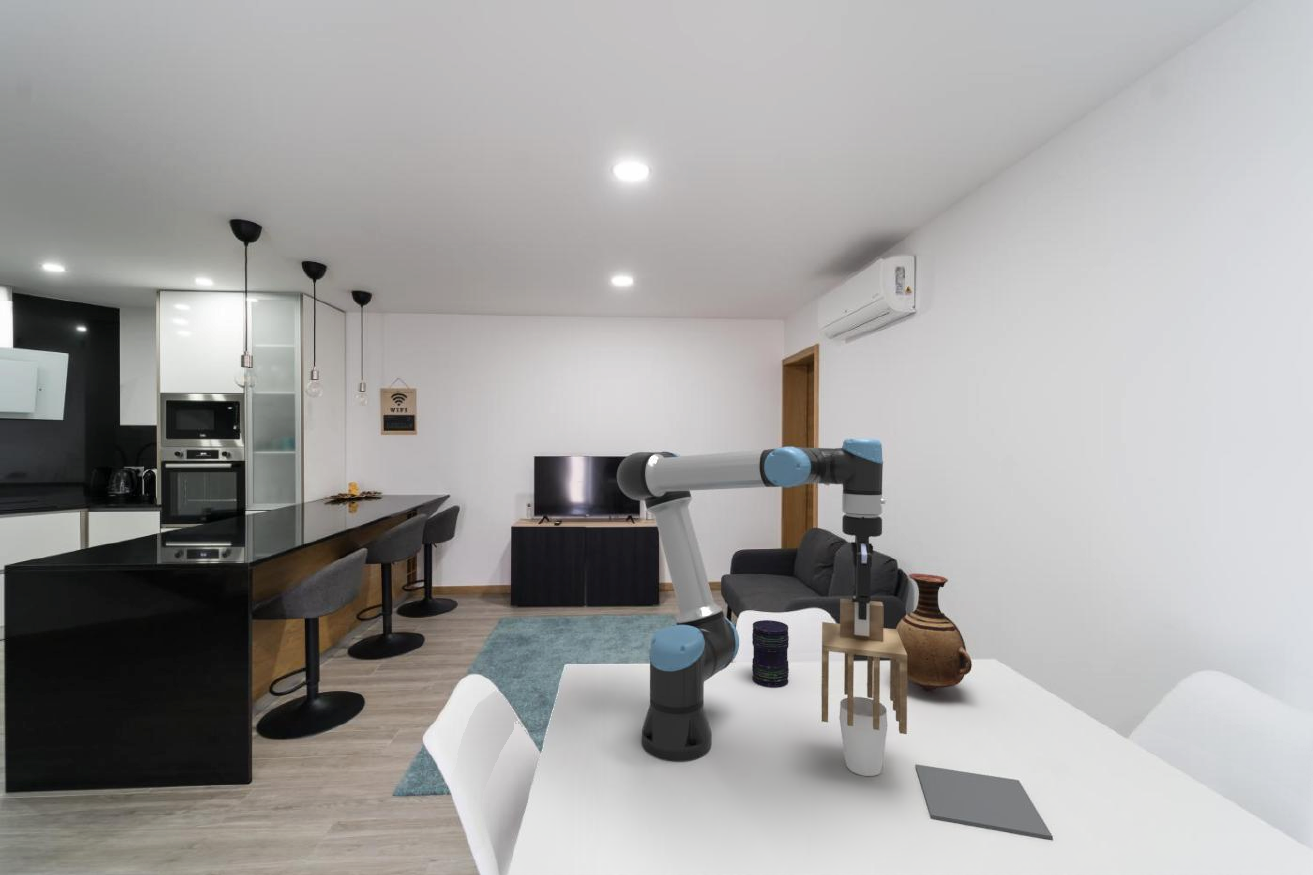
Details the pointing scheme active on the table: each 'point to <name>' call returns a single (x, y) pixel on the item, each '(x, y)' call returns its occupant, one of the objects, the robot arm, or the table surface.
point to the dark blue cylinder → (770, 653)
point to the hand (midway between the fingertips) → (861, 631)
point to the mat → (980, 801)
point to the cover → (875, 645)
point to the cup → (863, 737)
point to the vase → (932, 640)
